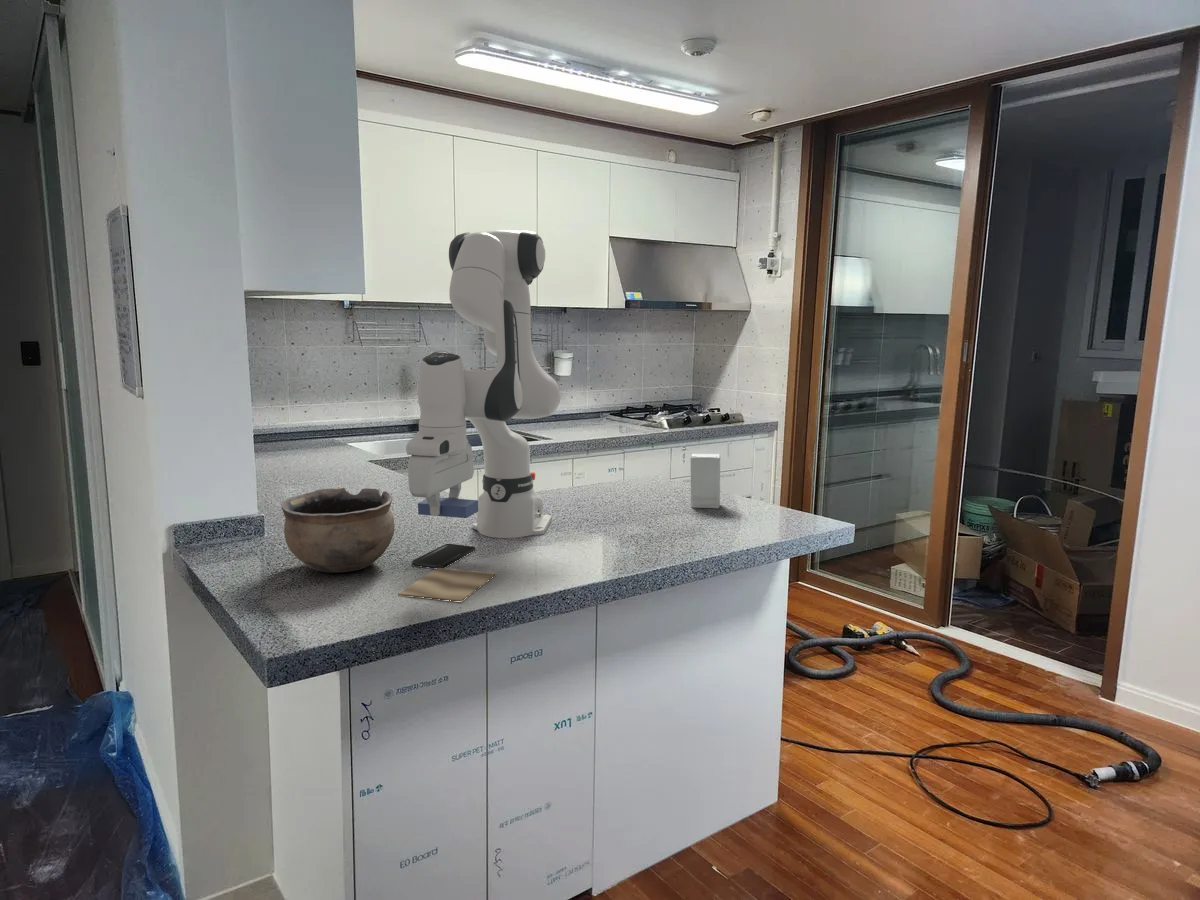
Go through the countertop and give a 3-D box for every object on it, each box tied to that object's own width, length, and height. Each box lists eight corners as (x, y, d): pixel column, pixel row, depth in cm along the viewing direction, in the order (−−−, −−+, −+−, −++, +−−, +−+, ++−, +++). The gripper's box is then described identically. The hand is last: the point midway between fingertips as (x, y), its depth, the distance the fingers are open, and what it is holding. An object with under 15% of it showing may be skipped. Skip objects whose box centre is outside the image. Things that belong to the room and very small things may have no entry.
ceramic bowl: (414, 557, 168) (412, 490, 166) (363, 590, 147) (359, 514, 145) (324, 549, 173) (321, 484, 171) (261, 580, 152) (257, 506, 150)
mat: (438, 569, 160) (437, 567, 160) (495, 575, 156) (495, 573, 156) (398, 595, 145) (398, 593, 144) (461, 602, 141) (461, 600, 141)
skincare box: (719, 504, 219) (721, 453, 217) (719, 509, 213) (721, 457, 211) (690, 503, 221) (692, 452, 218) (689, 508, 215) (690, 455, 212)
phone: (409, 562, 162) (447, 543, 176) (409, 567, 162) (447, 547, 176) (442, 566, 160) (477, 546, 173) (442, 571, 160) (477, 551, 174)
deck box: (478, 511, 149) (431, 507, 152) (478, 500, 149) (431, 496, 151) (466, 518, 144) (418, 514, 147) (465, 506, 144) (417, 503, 146)
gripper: (452, 431, 156) (453, 498, 159) (400, 446, 137) (403, 521, 139) (481, 433, 155) (482, 500, 157) (432, 448, 135) (434, 524, 138)
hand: (444, 510), depth 148 cm, fingers closed on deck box, 5 cm apart
